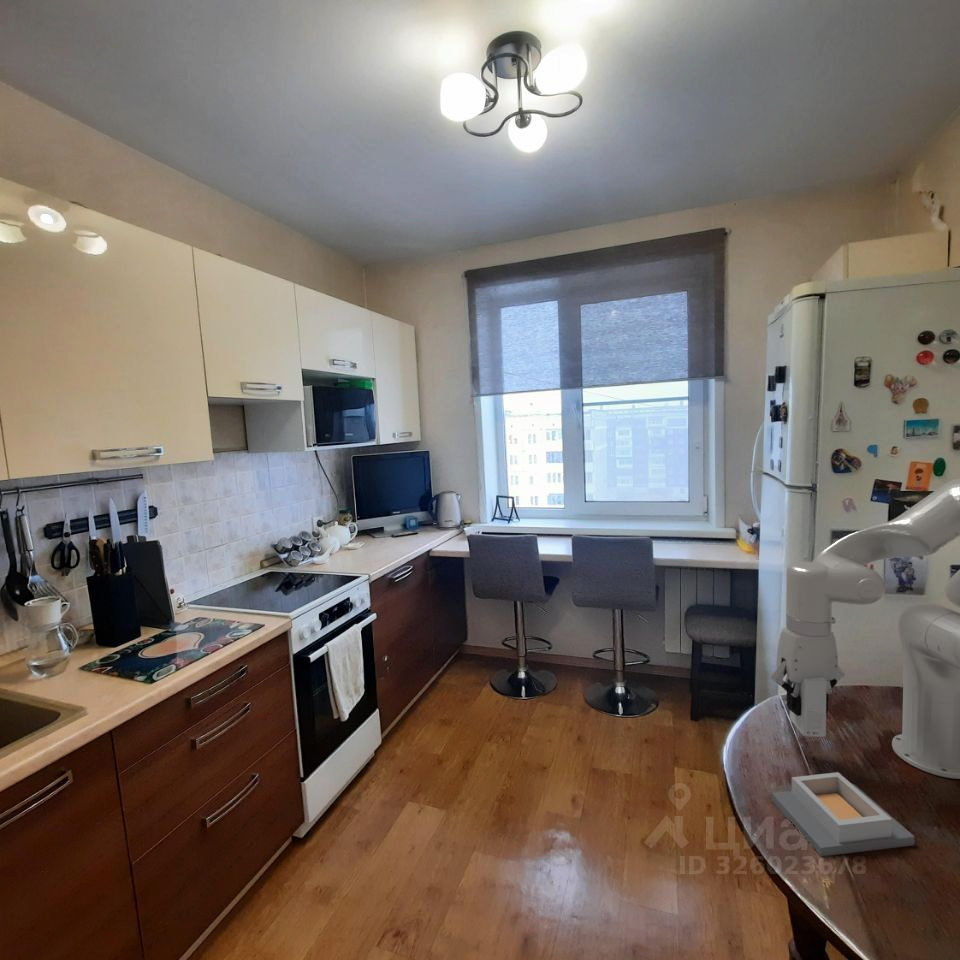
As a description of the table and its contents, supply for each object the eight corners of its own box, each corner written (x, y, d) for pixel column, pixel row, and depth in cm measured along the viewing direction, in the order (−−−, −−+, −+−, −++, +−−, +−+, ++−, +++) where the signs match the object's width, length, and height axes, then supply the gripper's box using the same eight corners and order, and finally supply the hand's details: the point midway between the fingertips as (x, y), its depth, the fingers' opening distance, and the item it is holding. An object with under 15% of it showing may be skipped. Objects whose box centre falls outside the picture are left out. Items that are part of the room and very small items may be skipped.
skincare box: (827, 737, 96) (827, 680, 95) (803, 737, 97) (803, 679, 95) (811, 719, 102) (811, 665, 101) (789, 719, 103) (789, 664, 101)
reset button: (836, 800, 89) (836, 792, 89) (874, 836, 81) (874, 828, 81) (805, 804, 89) (805, 796, 88) (840, 840, 81) (840, 832, 80)
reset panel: (853, 791, 91) (853, 768, 91) (914, 845, 79) (915, 819, 79) (771, 800, 90) (771, 777, 90) (820, 856, 78) (820, 830, 78)
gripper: (834, 614, 101) (832, 697, 103) (755, 620, 100) (755, 704, 102) (864, 628, 94) (862, 717, 96) (780, 636, 93) (779, 725, 95)
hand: (807, 709), depth 99 cm, fingers closed on skincare box, 5 cm apart
